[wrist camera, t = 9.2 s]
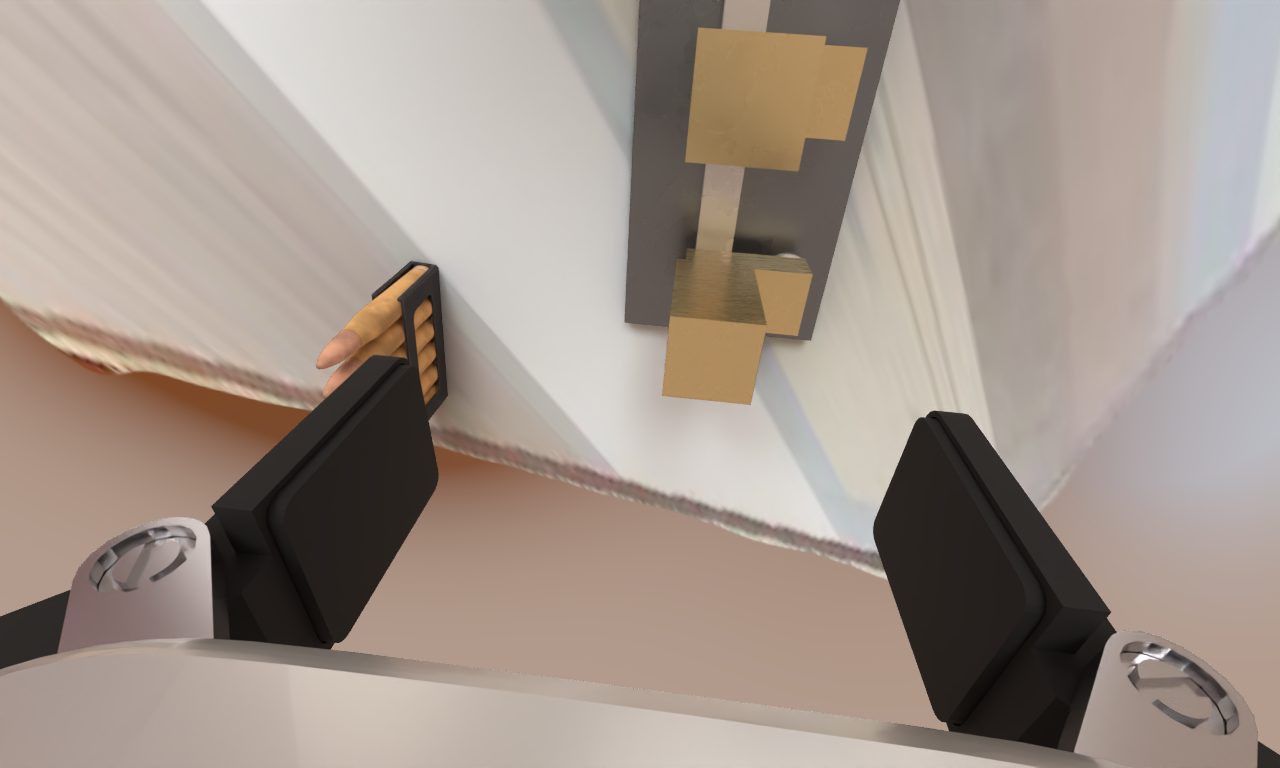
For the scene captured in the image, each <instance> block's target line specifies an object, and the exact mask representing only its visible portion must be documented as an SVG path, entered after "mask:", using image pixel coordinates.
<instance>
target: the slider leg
mask: <svg viewBox="0 0 1280 768" xmlns="http://www.w3.org/2000/svg"><path fill="white" fill-rule="evenodd" d="M825 41H826V36H815V35H801V34H786V33H771V32H757V31H742V30H727V29H712V28H698V35H697V45H696V55H695V66H694V76H693V86H692V96H691V107H690V117H689V127H688V137H687V148H686V158H685V162H689V163H701V164H714V165H726V166H738V167H751V168H763V169H775V170H788V171H799V166H800V161H801V156H802V152H803V147H804V142H805V138H816V139H829V140H841V141H845V139H846V135H847V130H848V126H849V122H850V118H851V114H852V110H853V106H854V102H855V98H856V94H857V90H858V86H859V82H860V77H861V73H862V69H863V65H864V61H865V57H866V53H867V49H868V48H862V47H848V46H833V45H825Z"/></svg>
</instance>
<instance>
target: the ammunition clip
mask: <svg viewBox="0 0 1280 768" xmlns="http://www.w3.org/2000/svg"><path fill="white" fill-rule="evenodd" d="M372 300H373V301H372V302H370V303H369V304H368V305H367V306H365V307H364V308H363V309H362V310H360V311H359V312H358V313H357V314H356V315H355V316H354V317H353V318H352V319H351V320H350V322H349V323H348V325H347V326H346V327H345V328H344V329H343V330H341V332H340V333H339V334H338V335H337V336H335V337H334V338H333V339H332V340H331V341H330V342H329V344H328V345H327V346H326V347H325V348H324V350H323V351H322V352H321V354H320V356H319V358H318V360H317V364H316V367H317V368H318V369H325V368H328V367H331V366H333V365H336V364H338V363H340V362H342V361H343V360H345V359H346V358H347V359H346V360H345V362H344V363H343V364H342V365H341V366H340V367H339V368H338V369H337V370H336V371H335V372H334V374H333V375H332V376H331V378H330V379H329V381H328V382H327V384H326V386H325V388H324V392H323V397H324V398H327V397H328V396H329V395H330V394H331V393H332V392H333V391H334V390H335V389H336V388H338V387H339V386H340V385H341V384H342V383H343V382H344V381H345V380H346V379H347V378H348V377H349V376H350V375H351V374H352V373H353V372H355V371H356V370H357V369H358V368H359V367H360V366H361V365H362V364H363V363H364V362H365V361H366V360H367V359H368V358H369V357H371V356H373V355H384V356H394V357H404V358H406V359H407V360H408V361H409V363H410V365H411V366H415V367H416V368H417V369H418V372H419V376H420V381H421V386H422V391H423V396H424V401H425V406H426V411H427V416H428V421H429V419H430V418H431V417H432V415H433V414H434V413H435V412H436V410H437V409H438V408H439V406H440V405H441V404H442V402H443V401H444V400H445V398H446V397H447V396H448V393H447V380H446V366H445V353H444V339H443V325H442V312H441V298H440V284H439V271H438V267H437V266H436V265H431V264H425V263H420V262H414V261H410V262H409V263H408V264H407V265H406V266H405V267H403V268H402V269H401V270H400V271H399V272H398V273H397V274H395V275H394V276H393V277H392V278H391V279H390V280H388V281H387V282H386V283H385V284H384V285H382V286H381V287H380V288H379V289H378V290H376V291H375V292H374V293H373V294H372Z"/></svg>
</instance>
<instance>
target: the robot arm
mask: <svg viewBox="0 0 1280 768" xmlns="http://www.w3.org/2000/svg"><path fill="white" fill-rule="evenodd" d="M437 482H438V467H437V462H436V457H435V452H434V448H433V442H432V437H431V432H430V427H429V422H428V416H427V411H426V406H425V401H424V396H423V391H422V386H421V381H420V376H419V372H418V369H417V368H416V367H415V366H411V365H410V363H409V361H408V360H407V359H406V358H404V357H394V356H384V355H373V356H371V357H369V358H368V359H367V360H366V361H365V362H364V363H363V364H362V365H361V366H360V367H359V368H358V369H357V370H356V371H355V372H353V373H352V374H351V375H350V376H349V377H348V378H347V379H346V380H345V381H344V382H343V383H342V384H341V385H340V386H339V387H338V388H336V389H335V390H334V391H333V392H332V393H331V394H330V395H329V396H328V397H327V398H326V399H325V400H324V401H323V402H322V403H321V404H319V405H318V406H317V407H316V408H315V409H314V410H313V411H312V412H311V413H310V414H309V415H308V416H307V417H306V418H305V419H304V420H303V421H301V422H300V423H299V424H298V425H297V426H296V427H295V428H294V429H293V430H292V431H291V432H290V433H289V434H288V435H287V436H285V437H284V438H283V439H282V440H281V441H280V442H279V443H278V444H277V445H276V446H275V447H274V448H273V449H272V450H271V451H270V452H269V453H267V454H266V455H265V456H264V457H263V458H262V459H261V460H260V461H259V462H258V463H257V464H256V465H255V466H254V467H252V469H250V470H249V471H248V472H247V473H246V474H245V475H244V476H243V477H242V478H241V479H240V480H239V481H238V482H237V483H235V484H234V486H232V487H231V488H230V489H229V490H228V491H227V492H226V493H225V494H224V495H223V496H222V497H221V498H220V499H219V500H218V501H216V502H215V504H213V505H212V506H211V507H212V509H213V510H214V512H215V514H214V516H212V517H211V518H210V519H209V520H208V521H207V522H206V523H205V524H203V523H202V522H200V521H199V520H197V519H192V518H186V517H177V518H176V517H175V518H165V519H160V520H156V521H152V522H148V523H145V524H143V525H140V526H137V527H135V528H132V529H129V530H127V531H125V532H123V533H121V534H120V535H118V536H116V537H114V538H113V539H111V540H109V541H107V542H106V543H105V544H103V545H102V546H101V547H99V548H98V549H97V550H96V551H94V552H93V553H92V554H90V556H89V557H88V558H87V559H86V560H85V561H84V562H83V563H82V564H81V566H80V567H79V568H78V570H77V572H76V575H75V577H74V579H73V581H72V586H71V590H69V591H66V592H64V593H61V594H58V595H55V596H53V597H50V598H48V599H45V600H43V601H40V602H37V603H35V604H32V605H29V606H27V607H24V608H21V609H19V610H16V611H14V612H11V613H8V614H6V615H3V616H0V768H1280V755H1279V754H1277V753H1276V752H1274V751H1272V750H1271V749H1270V748H1268V747H1266V746H1265V745H1263V744H1262V743H1260V742H1258V731H1257V726H1256V722H1255V718H1254V715H1253V713H1252V712H1251V710H1250V708H1249V707H1248V705H1247V703H1246V702H1245V700H1244V698H1243V697H1242V696H1241V695H1240V694H1239V692H1238V691H1237V690H1236V689H1235V688H1234V687H1233V686H1232V685H1231V683H1230V682H1229V681H1228V680H1227V679H1226V678H1225V677H1224V676H1222V675H1221V674H1220V673H1219V672H1217V671H1216V670H1215V669H1214V668H1213V667H1212V666H1210V665H1209V664H1208V663H1207V662H1205V661H1204V660H1203V659H1201V658H1199V657H1198V656H1196V655H1195V654H1193V653H1192V652H1190V651H1188V650H1187V649H1185V648H1184V647H1182V646H1180V645H1178V644H1175V643H1173V642H1171V641H1169V640H1167V639H1165V638H1162V637H1160V636H1156V635H1152V634H1149V633H1145V632H1142V631H1125V630H1124V631H1121V632H1119V633H1117V632H1116V631H1115V629H1114V628H1113V626H1112V625H1111V623H1110V622H1109V621H1108V619H1107V617H1108V615H1109V614H1110V613H1111V611H1110V610H1109V609H1108V607H1107V606H1106V604H1105V603H1104V602H1103V601H1102V599H1101V597H1100V596H1099V595H1098V593H1097V592H1096V591H1095V589H1094V588H1093V586H1092V585H1091V584H1090V582H1089V581H1088V579H1087V578H1086V577H1085V575H1084V574H1083V573H1082V571H1081V570H1080V568H1079V567H1078V566H1077V564H1076V563H1075V561H1074V560H1073V558H1072V557H1071V556H1070V554H1069V553H1068V551H1067V550H1066V549H1065V547H1064V546H1063V545H1062V543H1061V542H1060V540H1059V539H1058V538H1057V536H1056V535H1055V534H1054V532H1053V531H1052V529H1051V528H1050V526H1049V525H1048V524H1047V522H1046V521H1045V519H1044V518H1043V517H1042V515H1041V514H1040V512H1039V511H1038V510H1037V508H1036V507H1035V505H1034V504H1033V503H1032V501H1031V500H1030V499H1029V497H1028V496H1027V494H1026V493H1025V492H1024V490H1023V489H1022V487H1021V486H1020V485H1019V483H1018V482H1017V480H1016V479H1015V478H1014V476H1013V475H1012V473H1011V472H1010V471H1009V469H1008V468H1007V466H1006V465H1005V464H1004V462H1003V461H1002V459H1001V458H1000V457H999V455H998V454H997V453H996V451H995V450H994V448H993V447H992V446H991V444H990V443H989V441H988V440H987V439H986V437H985V436H984V434H983V433H982V432H981V430H980V429H979V427H978V426H977V425H976V423H975V422H974V420H973V419H972V418H971V417H970V416H969V415H967V414H963V413H953V412H943V411H931V412H930V413H929V414H928V415H927V416H926V418H923V417H921V418H919V419H918V420H917V421H916V423H915V424H914V427H913V429H912V432H911V434H910V436H909V439H908V441H907V444H906V446H905V449H904V451H903V453H902V456H901V458H900V461H899V463H898V465H897V468H896V470H895V473H894V475H893V477H892V480H891V482H890V485H889V487H888V490H887V492H886V494H885V497H884V499H883V502H882V504H881V506H880V509H879V511H878V514H877V516H876V518H875V522H874V527H873V534H874V540H875V543H876V546H877V549H878V552H879V555H880V558H881V561H882V564H883V567H884V569H885V572H886V575H887V578H888V581H889V584H890V587H891V590H892V592H893V595H894V598H895V601H896V604H897V607H898V610H899V613H900V616H901V618H902V621H903V624H904V627H905V630H906V632H907V636H908V639H909V642H910V645H911V648H912V650H913V653H914V656H915V659H916V662H917V665H918V668H919V671H920V673H921V677H922V680H923V682H924V685H925V688H926V691H927V694H928V697H929V700H930V703H931V706H932V709H933V711H934V713H935V715H936V716H937V718H938V719H939V720H940V721H941V722H946V723H947V726H948V729H949V731H944V730H937V729H930V728H924V727H917V726H911V725H904V724H897V723H890V722H883V721H875V720H867V719H860V718H853V717H846V716H838V715H831V714H824V713H817V712H809V711H802V710H794V709H787V708H780V707H772V706H765V705H758V704H751V703H743V702H736V701H728V700H721V699H714V698H705V697H698V696H690V695H682V694H676V693H668V692H661V691H653V690H645V689H638V688H630V687H623V686H615V685H607V684H600V683H592V682H584V681H577V680H569V679H561V678H554V677H546V676H538V675H531V674H522V673H515V672H507V671H499V670H491V669H483V668H475V667H467V666H459V665H451V664H443V663H436V662H428V661H419V660H412V659H404V658H396V657H388V656H379V655H372V654H364V653H355V652H347V651H338V650H330V649H331V648H332V646H333V645H334V643H339V642H342V641H343V640H344V639H345V638H346V637H347V635H348V634H349V632H350V631H351V629H352V627H353V626H354V624H355V622H356V621H357V619H358V617H359V616H360V614H361V612H362V611H363V609H364V607H365V605H366V604H367V602H368V601H369V599H370V597H371V596H372V594H373V592H374V591H375V589H376V587H377V586H378V584H379V582H380V581H381V579H382V577H383V576H384V574H385V572H386V571H387V569H388V567H389V566H390V564H391V562H392V561H393V559H394V557H395V556H396V554H397V552H398V551H399V549H400V547H401V546H402V544H403V542H404V540H405V539H406V537H407V536H408V534H409V532H410V531H411V529H412V527H413V526H414V524H415V522H416V521H417V519H418V517H419V516H420V514H421V512H422V511H423V509H424V507H425V506H426V504H427V502H428V501H429V499H430V497H431V496H432V494H433V492H434V490H435V489H436V486H437Z"/></svg>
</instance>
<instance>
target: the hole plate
mask: <svg viewBox="0 0 1280 768" xmlns="http://www.w3.org/2000/svg"><path fill="white" fill-rule="evenodd" d="M899 2H900V0H640V6H639V27H638V49H637V70H636V91H635V112H634V134H633V155H632V176H631V198H630V219H629V240H628V262H627V283H626V304H625V322H626V323H637V324H647V325H658V326H668V327H669V332H668V342H667V353H666V363H665V373H664V383H663V394H662V396H671V397H680V398H690V399H700V400H709V401H719V402H729V403H738V404H748V405H750V404H751V399H752V395H753V390H754V385H755V380H756V375H757V371H758V366H759V361H760V356H761V351H762V347H763V342H764V337H765V336H771V337H782V338H792V339H802V340H811V338H812V334H813V330H814V326H815V323H816V319H817V315H818V311H819V307H820V303H821V300H822V296H823V292H824V288H825V284H826V281H827V277H828V273H829V269H830V265H831V262H832V258H833V254H834V250H835V246H836V242H837V239H838V235H839V231H840V227H841V223H842V220H843V216H844V212H845V208H846V204H847V201H848V197H849V193H850V189H851V185H852V181H853V178H854V174H855V170H856V166H857V162H858V159H859V155H860V151H861V147H862V143H863V139H864V136H865V132H866V128H867V124H868V120H869V117H870V113H871V109H872V105H873V101H874V98H875V94H876V90H877V86H878V82H879V78H880V75H881V71H882V67H883V63H884V59H885V56H886V52H887V48H888V44H889V40H890V36H891V33H892V29H893V25H894V21H895V17H896V14H897V10H898V6H899ZM698 28H712V29H727V30H742V31H757V32H771V33H786V34H801V35H815V36H826V41H825V45H833V46H848V47H862V48H868V49H867V53H866V57H865V61H864V65H863V69H862V73H861V77H860V82H859V86H858V90H857V94H856V98H855V102H854V106H853V110H852V114H851V118H850V122H849V126H848V130H847V135H846V139H845V141H841V140H829V139H816V138H805V142H804V147H803V152H802V156H801V161H800V166H799V171H788V170H775V169H763V168H751V167H738V166H726V165H714V164H701V163H689V162H685V158H686V148H687V137H688V127H689V117H690V107H691V96H692V86H693V76H694V66H695V55H696V45H697V35H698Z"/></svg>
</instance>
